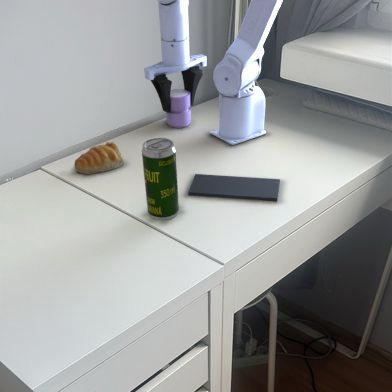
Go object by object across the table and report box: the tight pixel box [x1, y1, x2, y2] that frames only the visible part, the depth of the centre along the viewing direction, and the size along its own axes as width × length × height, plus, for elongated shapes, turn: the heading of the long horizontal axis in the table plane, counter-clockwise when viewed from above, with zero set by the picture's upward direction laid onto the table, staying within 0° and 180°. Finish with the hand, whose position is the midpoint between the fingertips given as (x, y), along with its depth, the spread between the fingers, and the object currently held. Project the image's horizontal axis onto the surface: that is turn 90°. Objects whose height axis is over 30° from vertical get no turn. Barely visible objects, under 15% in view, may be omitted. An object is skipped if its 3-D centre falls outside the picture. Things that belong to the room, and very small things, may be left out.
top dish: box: [170, 88, 192, 112], centre depth 111 cm, size 6×6×3 cm
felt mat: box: [187, 173, 281, 202], centre depth 92 cm, size 16×7×1 cm, turn 80°
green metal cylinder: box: [141, 137, 180, 221], centre depth 83 cm, size 5×5×12 cm
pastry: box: [74, 141, 125, 175], centre depth 99 cm, size 9×7×4 cm
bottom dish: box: [165, 106, 192, 129], centre depth 113 cm, size 6×6×3 cm
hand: (178, 107), depth 112 cm, fingers closed on top dish, 5 cm apart
